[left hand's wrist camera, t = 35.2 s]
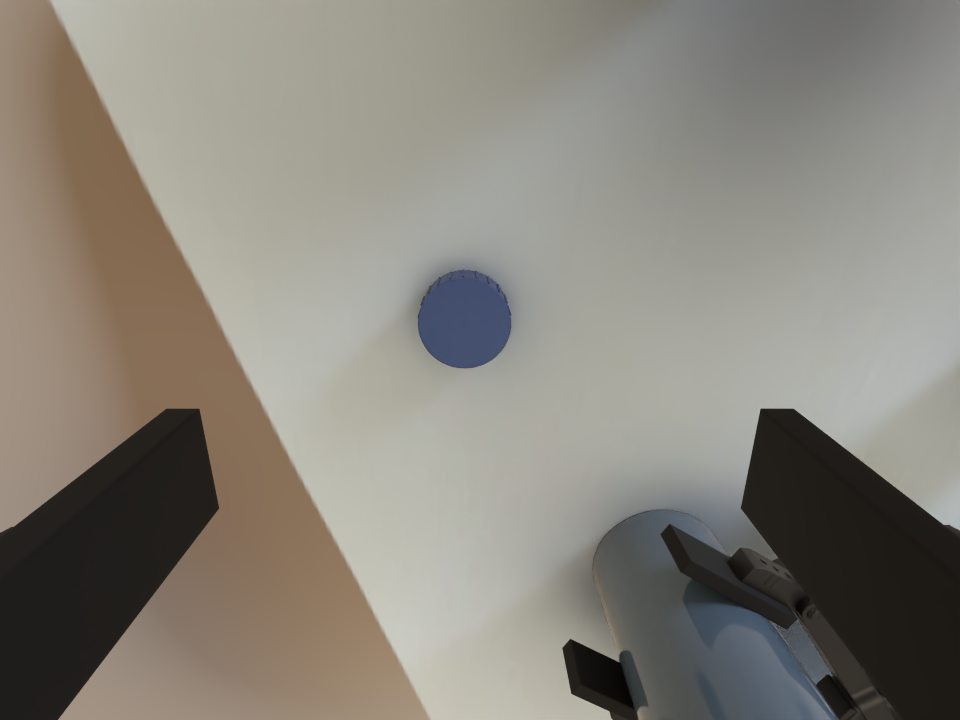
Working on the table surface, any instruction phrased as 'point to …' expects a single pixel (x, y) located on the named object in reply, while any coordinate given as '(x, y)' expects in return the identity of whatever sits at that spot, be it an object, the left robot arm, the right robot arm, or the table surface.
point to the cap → (464, 319)
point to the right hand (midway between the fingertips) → (620, 608)
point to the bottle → (693, 635)
